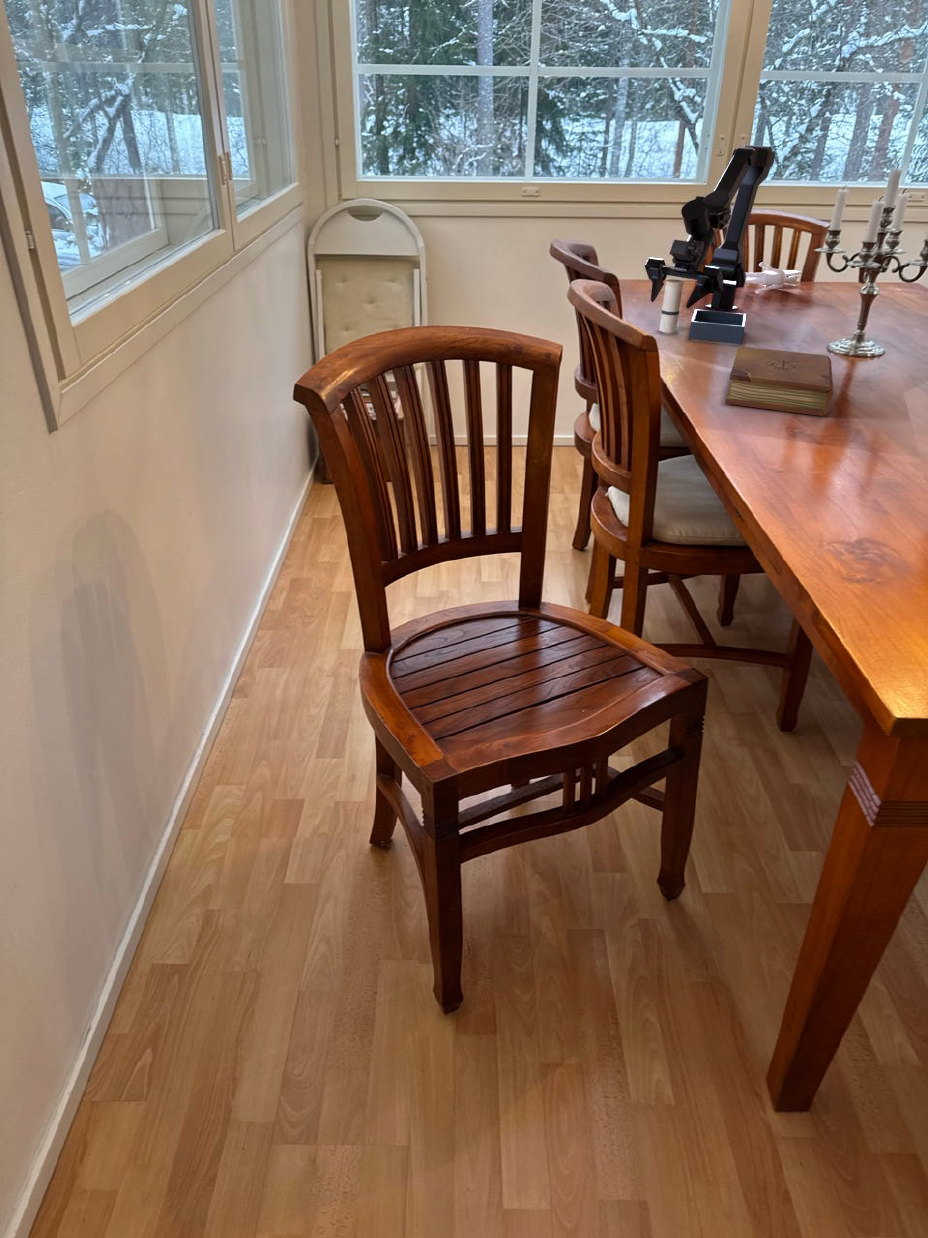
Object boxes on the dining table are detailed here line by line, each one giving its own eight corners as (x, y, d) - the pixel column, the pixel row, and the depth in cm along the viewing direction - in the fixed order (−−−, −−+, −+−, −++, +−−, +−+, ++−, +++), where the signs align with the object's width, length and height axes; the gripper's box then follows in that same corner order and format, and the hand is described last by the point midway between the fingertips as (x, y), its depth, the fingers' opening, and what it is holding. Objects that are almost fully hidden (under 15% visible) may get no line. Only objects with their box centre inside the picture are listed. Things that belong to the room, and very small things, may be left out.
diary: (826, 417, 164) (834, 387, 160) (724, 404, 168) (730, 374, 165) (825, 382, 182) (832, 354, 179) (733, 371, 187) (738, 344, 184)
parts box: (691, 328, 218) (695, 309, 215) (742, 333, 215) (746, 313, 213) (687, 341, 207) (691, 321, 205) (740, 346, 204) (744, 326, 202)
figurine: (728, 261, 252) (801, 262, 246) (732, 262, 263) (803, 264, 256) (724, 292, 255) (796, 295, 249) (728, 293, 266) (798, 295, 259)
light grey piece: (669, 329, 216) (677, 278, 209) (679, 334, 213) (687, 282, 206) (655, 331, 214) (662, 279, 208) (664, 335, 211) (672, 283, 205)
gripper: (653, 221, 208) (626, 276, 206) (728, 230, 199) (699, 288, 197) (663, 252, 218) (637, 305, 216) (734, 262, 209) (707, 318, 207)
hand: (669, 304), depth 209 cm, fingers open, 9 cm apart
